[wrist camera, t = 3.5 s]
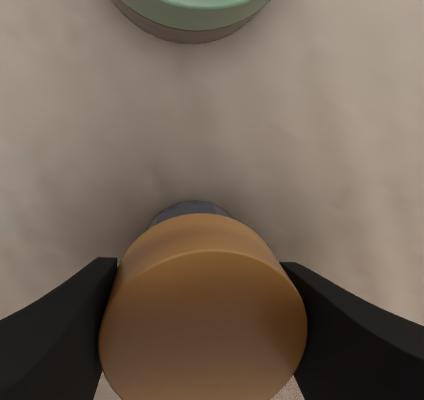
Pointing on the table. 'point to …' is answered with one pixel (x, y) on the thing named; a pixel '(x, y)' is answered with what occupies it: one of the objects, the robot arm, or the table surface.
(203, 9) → the sage chip
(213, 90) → the table surface
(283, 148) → the table surface
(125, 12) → the walnut chip
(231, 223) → the orange short cylinder
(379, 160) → the table surface
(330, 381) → the robot arm
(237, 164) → the table surface
